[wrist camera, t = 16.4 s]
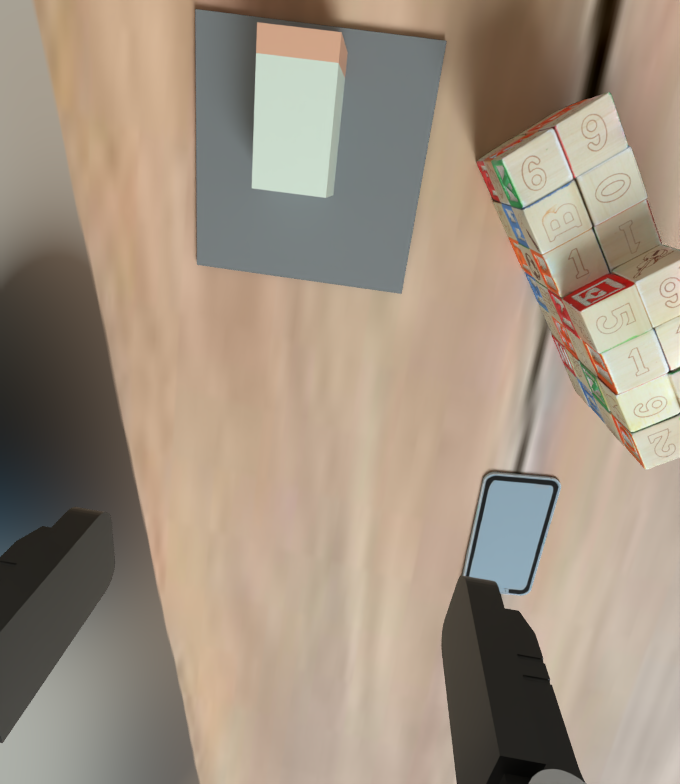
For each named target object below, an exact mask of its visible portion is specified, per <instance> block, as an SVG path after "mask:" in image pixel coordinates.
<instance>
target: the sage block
mask: <svg viewBox="0 0 680 784" xmlns="http://www.w3.org/2000/svg"><path fill="white" fill-rule="evenodd" d="M347 55H348V52H347V49H346V45H345V42H344V39H343V35H342V32H335V31H327V30H318V29H310V28H301V27H293V26H284V25H276V24H268V23H259V22H257V41H256V71H255V101H254V132H253V162H252V188H253V189H261V190H269V191H276V192H284V193H292V194H300V195H307V196H315V197H323V198H327V197H330V196H332V195H333V193H334V183H335V173H336V164H337V154H338V144H339V134H340V124H341V114H342V104H343V94H344V84H345V74H346V65H347Z"/></svg>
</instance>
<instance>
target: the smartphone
mask: <svg viewBox="0 0 680 784" xmlns="http://www.w3.org/2000/svg"><path fill="white" fill-rule="evenodd" d="M560 489H561V484H560V482H559V481H558V480H557V479H556V478H554V477H547V476H535V475H522V474H514V473H512V474H511V473H503V472H502V473H501V472H500V473H499V472H490V473H488V474H487V475H485V477H484V478H483V482H482V486H481V491H480V495H479V500H478V505H477V510H476V515H475V519H474V523H473V528H472V533H471V537H470V542H469V547H468V550H467V554H466V561H465V565H464V570H463V574H462V576H468V577H474V578H480V579H485V580H491V581H495V582H496V583H497V585H498V587H499V590H500V594H510V595H520V596H521V595H526V594H528V593H529V592H530V591H531V588H532V585H533V582H534V578H535V575H536V571H537V568H538V564H539V561H540V558H541V554H542V551H543V547H544V544H545V540H546V537H547V534H548V530H549V527H550V523H551V520H552V516H553V513H554V510H555V506H556V503H557V499H558V496H559V493H560Z"/></svg>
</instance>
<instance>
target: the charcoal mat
mask: <svg viewBox="0 0 680 784" xmlns="http://www.w3.org/2000/svg"><path fill="white" fill-rule="evenodd" d="M257 22H259V23H268V24H276V25H284V26H293V27H301V28H310V29H318V30H327V31H335V32H342V35H343V39H344V42H345V45H346V49H347V52H348V55H347V65H346V74H345V84H344V94H343V104H342V114H341V124H340V134H339V144H338V154H337V164H336V173H335V183H334V193H333V195H332V196H330V197H327V198H323V197H315V196H307V195H300V194H292V193H284V192H276V191H269V190H261V189H253V188H252V162H253V132H254V101H255V71H256V41H257ZM195 27H196V180H197V265H203V266H210V267H217V268H224V269H231V270H238V271H245V272H252V273H259V274H266V275H273V276H280V277H287V278H294V279H301V280H308V281H315V282H323V283H330V284H337V285H344V286H351V287H358V288H365V289H372V290H379V291H386V292H393V293H400V294H401V293H402V288H403V282H404V277H405V271H406V265H407V260H408V254H409V249H410V243H411V237H412V232H413V226H414V221H415V215H416V209H417V204H418V198H419V193H420V187H421V181H422V176H423V170H424V165H425V159H426V153H427V148H428V142H429V137H430V131H431V125H432V120H433V114H434V109H435V103H436V98H437V92H438V86H439V81H440V75H441V70H442V64H443V58H444V53H445V47H446V42H447V41H443V40H436V39H428V38H420V37H412V36H404V35H396V34H388V33H380V32H372V31H364V30H356V29H349V28H341V27H333V26H325V25H317V24H309V23H301V22H293V21H285V20H277V19H269V18H262V17H254V16H246V15H238V14H230V13H222V12H214V11H206V10H198V9H195Z"/></svg>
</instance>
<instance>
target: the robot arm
mask: <svg viewBox="0 0 680 784" xmlns="http://www.w3.org/2000/svg"><path fill="white" fill-rule="evenodd" d="M114 568H115V556H114V544H113V534H112V522H111V517H110V515H109V514H108V513H107V512H101V511H95V510H90V509H84V508H78V507H73V508H71V509H69V510H68V511H67V512H66V513H65V514H64V515H63V516H62V517H61V518H60V519H59V520H58V521H57V522H56V524H55V525H53V526H52V528H50V527H44V526H42V527H40V528H38V529H37V530H35V531H33V532H31V533H30V534H28V535H26V536H25V537H23V538H21V539H19V540H18V541H16V542H15V543H14V544H13V545H12V546H11V547H10V548H9V549H8V550H7V551H6V552H5V553H4V554H3V555H2V556H1V557H0V743H3V742H4V740H5V739H6V737H7V736H8V734H9V733H10V731H11V730H12V728H13V727H14V725H15V724H16V722H17V721H18V720H19V718H20V717H21V715H22V714H23V712H24V710H25V709H26V708H27V706H28V705H29V703H30V702H31V700H32V699H33V698H34V696H35V694H36V693H37V692H38V690H39V689H40V687H41V686H42V684H43V683H44V681H45V680H46V678H47V677H48V675H49V674H50V672H51V671H52V669H53V668H54V666H55V665H56V663H57V662H58V661H59V659H60V658H61V656H62V655H63V653H64V652H65V650H66V649H67V647H68V646H69V645H70V643H71V641H72V640H73V639H74V637H75V636H76V634H77V633H78V631H79V629H80V628H81V627H82V625H83V624H84V622H85V621H86V620H87V618H88V617H89V615H90V614H91V612H92V611H93V609H94V608H95V606H96V604H97V603H98V602H99V600H100V599H101V597H102V596H103V594H104V593H105V591H106V590H107V588H108V586H109V584H110V582H111V579H112V576H113V572H114ZM442 658H443V667H444V675H445V684H446V693H447V701H448V710H449V719H450V728H451V736H452V745H453V754H454V762H455V771H456V780H457V784H586V783H585V781H584V779H583V777H582V775H581V773H580V770H579V767H578V764H577V761H576V758H575V755H574V752H573V749H572V746H571V743H570V740H569V737H568V734H567V730H566V727H565V724H564V721H563V718H562V715H561V712H560V709H559V706H558V703H557V700H556V696H555V693H554V690H553V687H552V685H550V678H549V675H548V672H547V669H546V666H545V664H544V663H543V656H542V653H541V650H540V647H539V644H538V641H537V638H536V635H535V633H534V631H533V630H532V629H531V627H530V626H529V624H528V623H527V622H526V620H525V619H524V617H523V616H522V615H521V613H520V612H519V611H517V610H511V609H505V608H504V605H503V601H502V598H501V594H500V590H499V587H498V585H497V583H496V582H495V581H491V580H485V579H480V578H474V577H468V576H460V577H459V579H458V582H457V584H456V587H455V590H454V593H453V596H452V599H451V602H450V605H449V608H448V611H447V614H446V617H445V620H444V624H443V630H442Z"/></svg>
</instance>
